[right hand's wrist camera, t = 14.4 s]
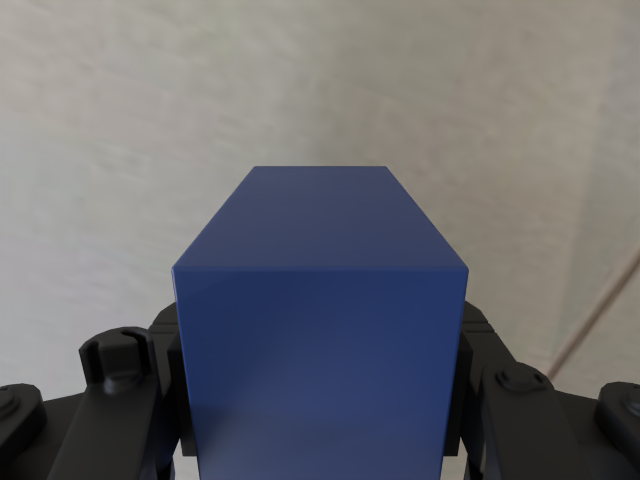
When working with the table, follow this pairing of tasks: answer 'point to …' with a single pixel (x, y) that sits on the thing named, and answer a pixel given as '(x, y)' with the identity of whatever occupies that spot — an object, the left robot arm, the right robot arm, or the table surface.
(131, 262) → the table surface
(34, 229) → the table surface
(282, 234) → the bar
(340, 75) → the table surface
